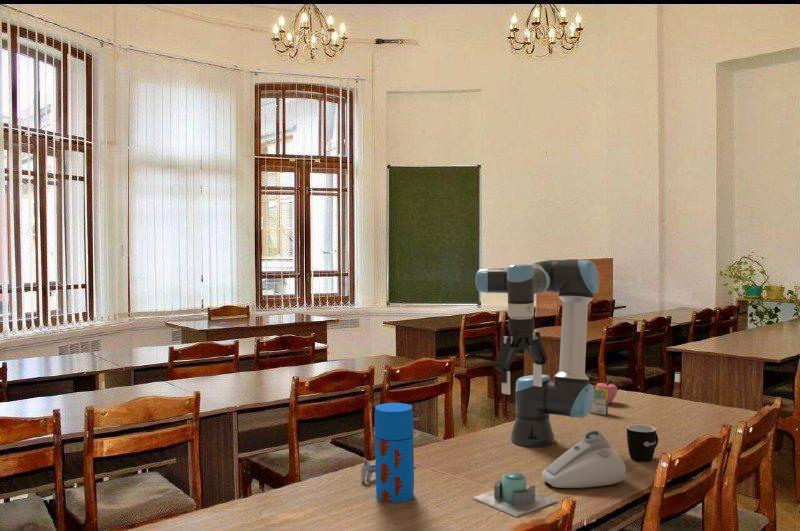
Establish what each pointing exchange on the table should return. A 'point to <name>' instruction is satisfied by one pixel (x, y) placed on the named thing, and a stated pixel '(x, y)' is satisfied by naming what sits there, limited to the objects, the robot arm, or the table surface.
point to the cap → (512, 485)
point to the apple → (609, 390)
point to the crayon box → (600, 401)
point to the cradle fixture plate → (515, 500)
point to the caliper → (369, 468)
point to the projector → (586, 465)
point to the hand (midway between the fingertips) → (522, 390)
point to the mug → (641, 442)
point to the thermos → (394, 452)
